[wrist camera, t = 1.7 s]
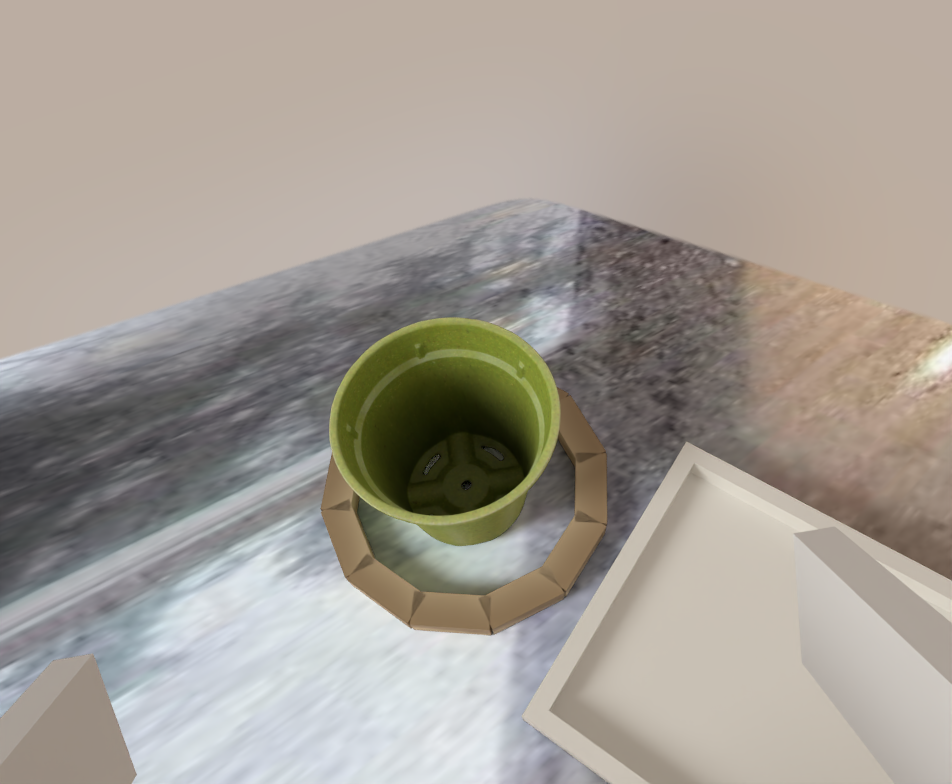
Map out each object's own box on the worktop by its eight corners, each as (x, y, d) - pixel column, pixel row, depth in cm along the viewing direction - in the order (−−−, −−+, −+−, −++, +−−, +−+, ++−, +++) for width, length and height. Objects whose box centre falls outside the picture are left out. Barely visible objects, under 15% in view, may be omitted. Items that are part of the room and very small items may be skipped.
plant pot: (493, 621, 32) (475, 571, 25) (339, 518, 36) (281, 446, 28) (593, 463, 36) (604, 377, 28) (444, 381, 39) (418, 285, 31)
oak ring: (276, 529, 36) (267, 521, 35) (437, 333, 41) (434, 321, 40) (504, 697, 31) (502, 693, 30) (655, 451, 36) (658, 441, 35)
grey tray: (523, 720, 30) (521, 716, 28) (679, 458, 35) (686, 441, 34) (864, 972, 25) (888, 987, 23) (988, 623, 30) (1015, 613, 29)
